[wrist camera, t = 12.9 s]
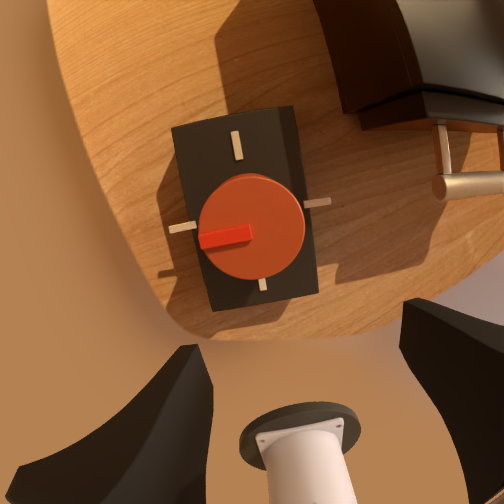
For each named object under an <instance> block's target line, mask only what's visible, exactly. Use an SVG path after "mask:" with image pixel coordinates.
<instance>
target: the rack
mask: <svg viewBox="0 0 504 504" xmlns="http://www.w3.org/2000/svg"><path fill="white" fill-rule="evenodd" d="M484 99H485V98H481V97H476V96H471V95H466V94H461V93H455V92H449V91H442V90H434V89H424V90H420V91H417V92H414V93H411V94H407V95H404V96H402V97H399V98H396V99H393V100H390V101H387V102H384V103H382V104H379V105H376V106H373V107H371V108H368V109H365V110H363V111H360V112H358V115H359V120H360V126H361V130H362V131H376V130H432V131H433V138H434V146H435V154H436V164H437V173H438V174H436V175H435V176H434V177H433V179H432V183H431V188H432V192H433V195H434V197H435V198H436V199H437V200H438V201H440V202H444V201H451V200H458V199H465V198H473V197H480V196H488V195H496V194H504V104H501V103H497V102H493V101H489V100H484ZM447 131H464V132H477V133H497V137H498V146H499V156H500V169H501V170H503V171H479V172H461V173H451V162H450V152H449V144H448V136H447Z"/></svg>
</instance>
